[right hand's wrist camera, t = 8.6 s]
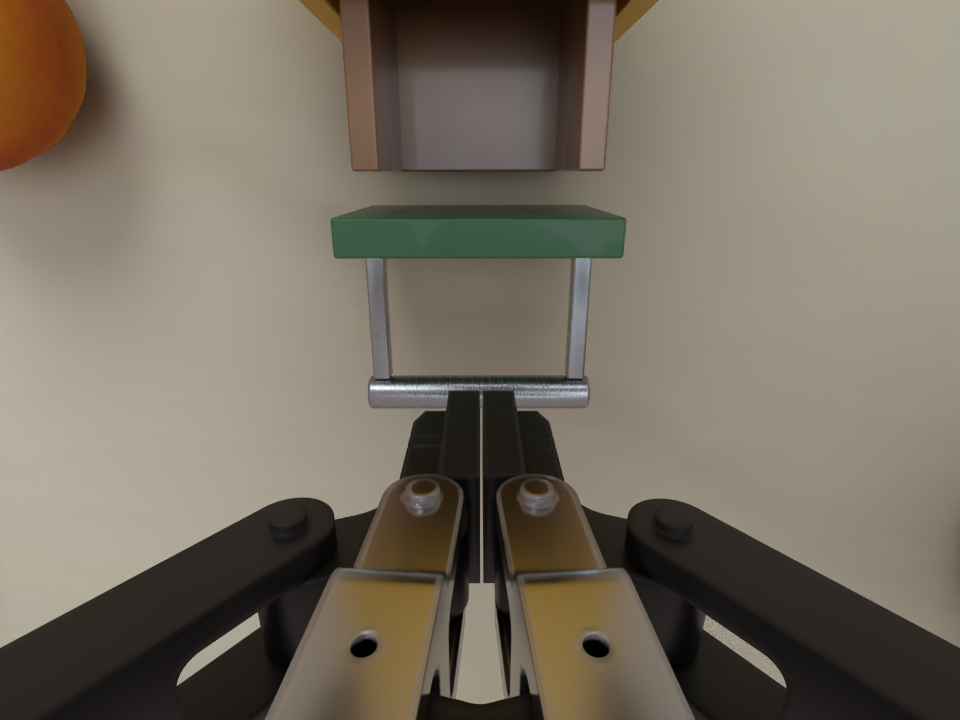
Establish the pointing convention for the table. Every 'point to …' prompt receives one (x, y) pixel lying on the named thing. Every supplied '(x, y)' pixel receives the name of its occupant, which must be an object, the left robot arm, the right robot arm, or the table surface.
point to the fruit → (38, 77)
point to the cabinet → (628, 11)
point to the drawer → (478, 156)
